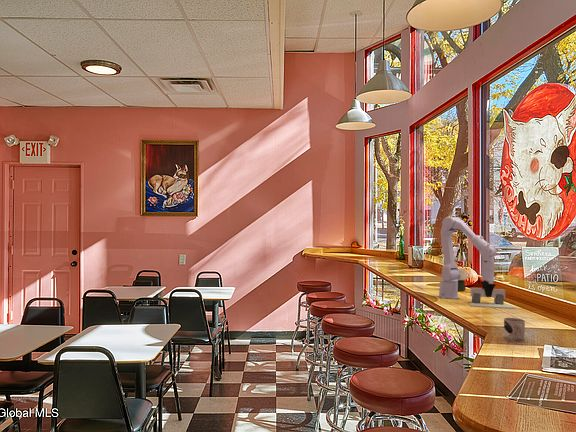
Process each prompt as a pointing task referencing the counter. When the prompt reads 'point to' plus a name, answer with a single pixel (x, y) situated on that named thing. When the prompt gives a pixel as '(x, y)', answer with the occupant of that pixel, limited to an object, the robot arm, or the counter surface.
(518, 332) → the mug
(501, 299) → the post right
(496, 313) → the counter surface
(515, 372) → the counter surface
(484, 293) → the rail
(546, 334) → the counter surface
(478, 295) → the brown boxy piece
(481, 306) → the mat
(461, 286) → the character mug
